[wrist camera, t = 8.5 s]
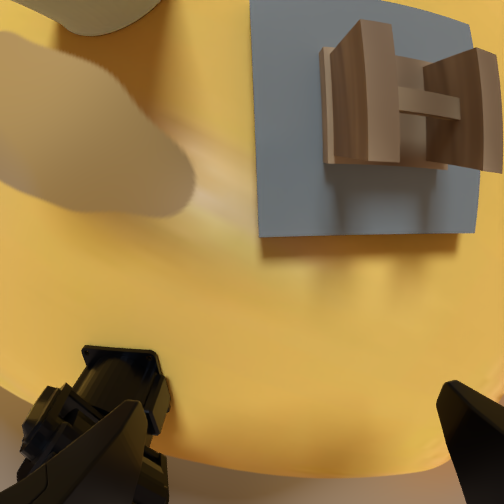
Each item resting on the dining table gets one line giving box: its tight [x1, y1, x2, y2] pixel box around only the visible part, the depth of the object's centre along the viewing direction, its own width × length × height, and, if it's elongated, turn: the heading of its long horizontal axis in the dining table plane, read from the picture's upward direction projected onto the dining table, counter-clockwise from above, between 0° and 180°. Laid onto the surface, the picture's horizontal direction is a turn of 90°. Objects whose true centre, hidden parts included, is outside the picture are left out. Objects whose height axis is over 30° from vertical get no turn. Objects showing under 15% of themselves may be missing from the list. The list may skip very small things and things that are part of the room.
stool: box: [319, 19, 503, 174], centre depth 12 cm, size 7×6×6 cm
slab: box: [250, 0, 480, 237], centre depth 16 cm, size 14×14×2 cm
